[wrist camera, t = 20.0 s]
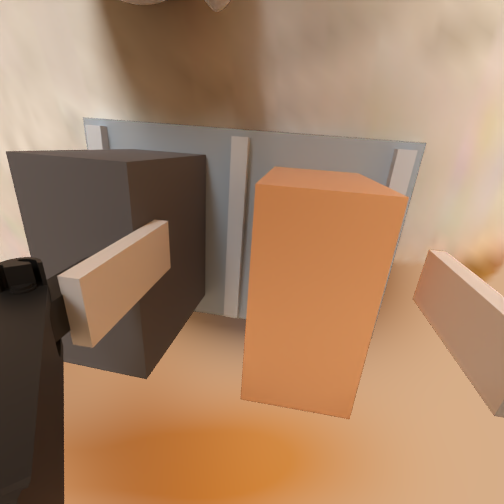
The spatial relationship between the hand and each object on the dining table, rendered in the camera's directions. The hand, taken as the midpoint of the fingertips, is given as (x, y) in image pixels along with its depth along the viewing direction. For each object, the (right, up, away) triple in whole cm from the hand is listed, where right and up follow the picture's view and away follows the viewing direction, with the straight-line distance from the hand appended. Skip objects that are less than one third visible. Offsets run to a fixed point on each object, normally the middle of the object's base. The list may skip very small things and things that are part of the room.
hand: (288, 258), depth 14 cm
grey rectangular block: (-9, +2, +9) cm, 13 cm away
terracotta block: (+2, +1, +8) cm, 9 cm away
